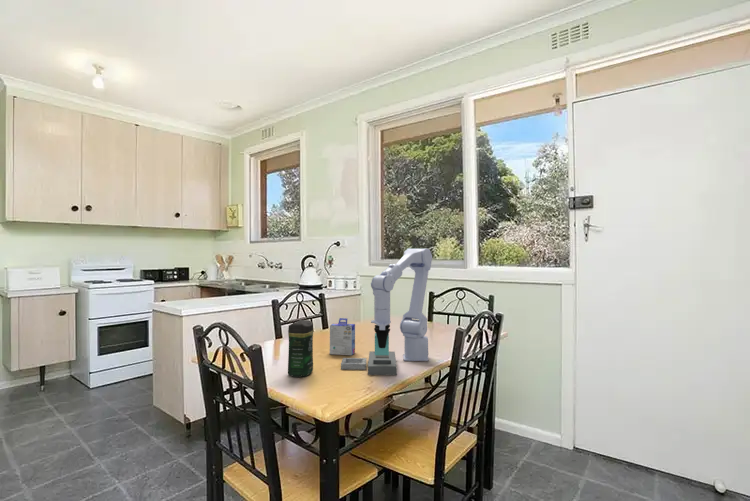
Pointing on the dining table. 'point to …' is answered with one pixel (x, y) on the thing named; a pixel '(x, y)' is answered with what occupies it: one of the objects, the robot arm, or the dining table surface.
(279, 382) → the dining table surface
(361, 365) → the grey rectangular frame
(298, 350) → the coffee jar
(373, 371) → the switch box
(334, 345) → the ink cartridge box
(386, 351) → the plug
